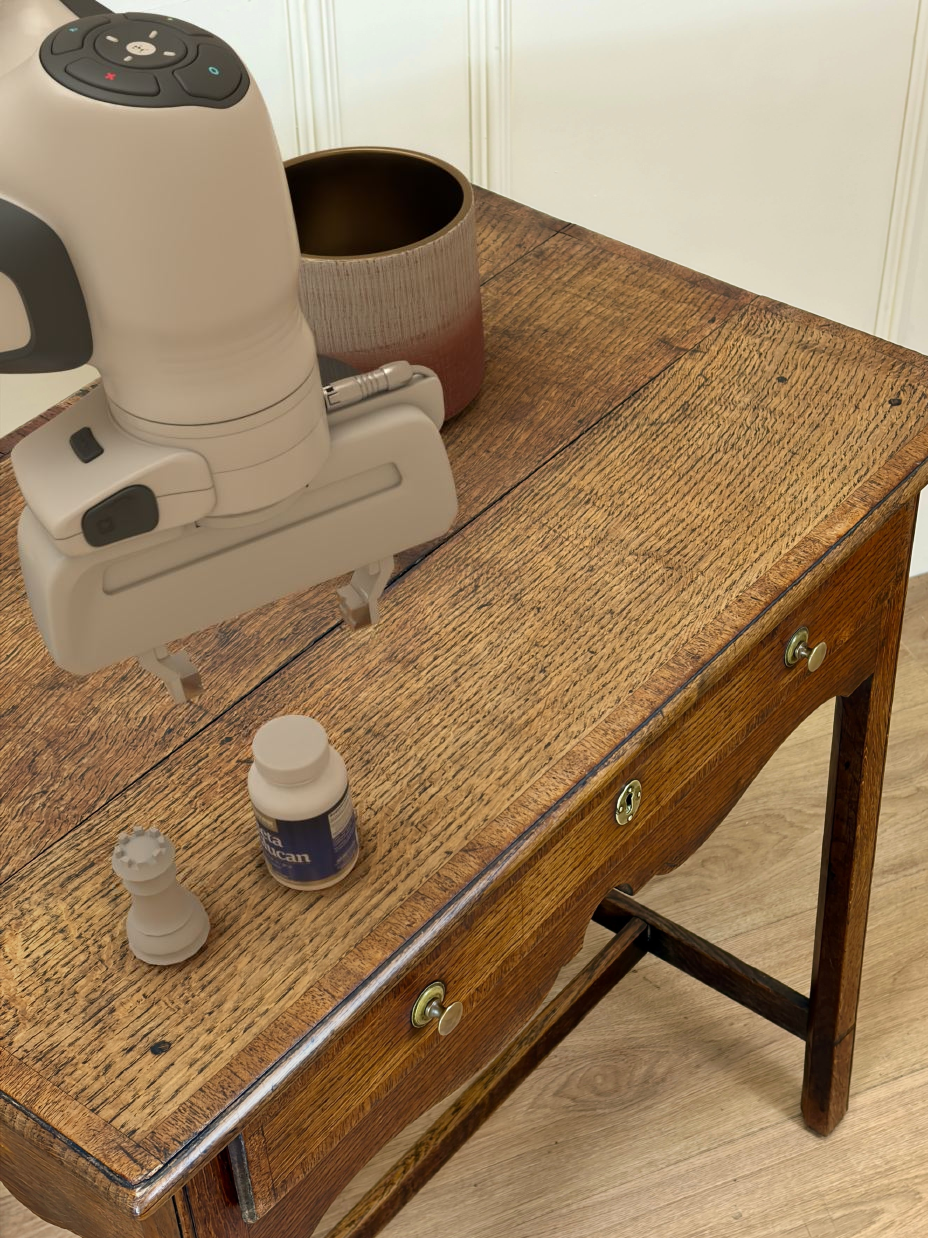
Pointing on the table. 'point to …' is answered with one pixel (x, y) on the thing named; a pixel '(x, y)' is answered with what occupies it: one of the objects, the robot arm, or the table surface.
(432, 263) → the planter
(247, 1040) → the table surface
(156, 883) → the rook chess piece
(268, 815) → the pill bottle
